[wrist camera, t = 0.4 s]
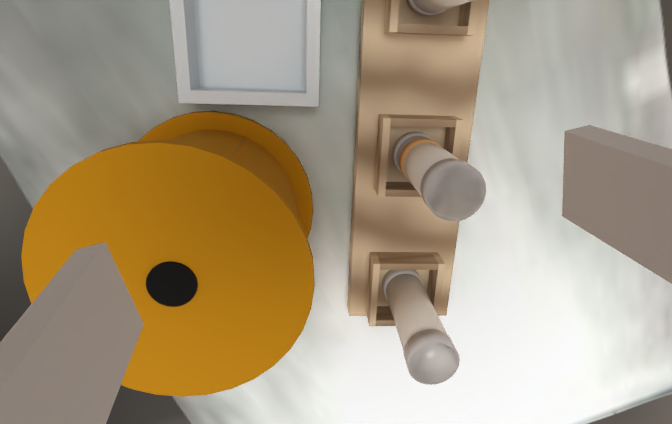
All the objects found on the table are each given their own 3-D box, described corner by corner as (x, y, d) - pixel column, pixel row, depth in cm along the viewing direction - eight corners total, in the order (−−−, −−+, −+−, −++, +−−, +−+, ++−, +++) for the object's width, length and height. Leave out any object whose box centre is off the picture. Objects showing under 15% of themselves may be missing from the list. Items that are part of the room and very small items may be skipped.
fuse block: (364, -63, 34) (372, -80, 30) (487, -57, 35) (512, -72, 31) (347, 305, 46) (351, 330, 42) (440, 304, 46) (453, 329, 42)
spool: (347, 233, 43) (365, 320, 29) (199, 319, 45) (150, 437, 31) (241, 70, 37) (199, 80, 23) (78, 178, 40) (-49, 245, 26)
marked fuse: (393, 130, 38) (429, 163, 27) (436, 131, 38) (490, 164, 27) (390, 173, 39) (423, 221, 28) (431, 173, 39) (481, 221, 28)
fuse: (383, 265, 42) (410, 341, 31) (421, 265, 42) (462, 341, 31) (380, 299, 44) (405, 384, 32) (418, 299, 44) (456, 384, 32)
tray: (180, -46, 34) (164, -59, 30) (320, -40, 35) (321, -51, 31) (191, 98, 38) (178, 102, 34) (317, 101, 39) (318, 106, 35)
